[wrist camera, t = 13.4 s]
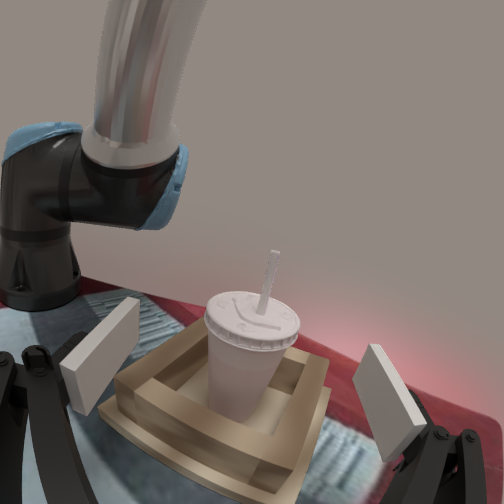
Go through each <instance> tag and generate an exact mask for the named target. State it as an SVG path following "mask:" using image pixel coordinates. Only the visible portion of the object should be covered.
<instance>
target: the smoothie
mask: <svg viewBox="0 0 504 504" xmlns="http://www.w3.org/2000/svg"><path fill="white" fill-rule="evenodd" d="M279 256H280V252H278V251H275V250H271V254H270V258H269V263H268V267H267V271H266V276H265V280H264V284H263V288H262V292H261V294H257V293H250V292H241V291H232V292H225V293H220V294H218V295H216V296H214V297H212V298H211V299H210V300H209V301H208V303H207V308H206V312H205V315H204V321H205V324H206V327H207V328H208V398H209V409H210V410H212V411H214V412H216V413H218V414H220V415H222V416H224V417H226V418H229V419H231V420H233V421H235V422H237V423H242V422H244V421H246V420H247V419H249V418H250V416H251V414H252V413H253V411H254V409H255V407H256V406H257V404H258V402H259V400H260V399H261V397H262V395H263V393H264V391H265V390H266V388H267V386H268V384H269V382H270V380H271V379H272V377H273V375H274V373H275V371H276V369H277V367H278V365H279V363H280V361H281V360H282V358H283V356H284V354H285V352H286V350H287V348H288V347H289V346H291V345H292V344H294V342H295V341H296V339H297V336H298V331H299V328H300V319H299V317H298V316H297V314H296V313H295V312H294V311H293V310H292V309H291V308H290V307H288V306H287V305H285V304H283V303H282V302H280V301H278V300H275V299H273V298H271V297H270V292H271V289H272V285H273V281H274V277H275V272H276V268H277V265H278V260H279Z"/></svg>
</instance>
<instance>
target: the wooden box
mask: <svg viewBox="0 0 504 504" xmlns="http://www.w3.org/2000/svg"><path fill="white" fill-rule="evenodd" d="M329 361H330V360H329V359H326V358H323V357H320V356H317V355H314V354H311V353H308V352H305V351H302V350H299V349H296V348H293V347H290V346H289V347H288V348H287V350H286V352H285V354H284V356H283V358H282V360H281V361H280V363H279V365H278V367H277V369H276V371H275V373H274V375H273V377H272V379H271V380H270V382H269V384H268V386H267V388H266V390H265V391H264V393H263V395H262V397H261V399H260V400H259V402H258V404H257V406H256V407H255V409H254V411H253V413H252V414H251V416H250V418H249V419H247V420H246V421H244V422H242V423H237V422H235V421H233V420H231V419H229V418H226V417H224V416H222V415H220V414H218V413H216V412H214V411H212V410H210V409H209V398H208V328H207V327H206V324H205V321H204V316H203V317H201V318H200V319H198V320H197V321H195V322H194V323H192V324H191V325H190V326H188V327H187V328H185V329H184V330H182V331H181V332H179V333H178V334H176V335H175V336H173V337H172V338H170V339H169V340H167V341H166V342H164V343H163V344H161V345H160V346H158V347H157V348H155V349H154V350H152V351H151V352H149V353H148V354H146V355H145V356H143V357H142V358H140V359H139V360H137V361H136V362H134V363H133V364H131V365H130V366H128V367H127V368H125V369H123V370H122V371H120V372H119V373H117V374H116V375H115V376H114V377H113V380H114V387H115V393H116V394H115V395H113V396H112V397H111V398H109V399H108V400H106V401H105V402H103V403H102V404H100V405H99V406H97V408H98V411H99V415H100V418H101V419H102V420H104V421H105V422H106V423H107V424H108V425H110V426H111V427H112V428H113V429H115V430H116V431H117V432H118V433H120V434H121V435H122V436H124V437H125V438H126V439H128V440H129V441H130V442H132V443H133V444H135V445H136V446H137V447H139V448H140V449H142V450H143V451H145V452H146V453H148V454H149V455H151V456H152V457H154V458H155V459H157V460H158V461H160V462H161V463H163V464H165V465H166V466H168V467H170V468H171V469H173V470H175V471H176V472H178V473H180V474H182V475H183V476H185V477H187V478H189V479H191V480H193V481H195V482H197V483H198V484H200V485H202V486H204V487H206V488H208V489H211V490H213V491H215V492H217V493H219V494H221V495H224V496H226V497H228V498H231V499H233V500H235V501H238V502H240V503H243V504H295V501H296V499H297V496H298V494H299V491H300V489H301V486H302V483H303V481H304V478H305V475H306V473H307V470H308V467H309V464H310V461H311V458H312V455H313V452H314V449H315V446H316V443H317V439H318V436H319V433H320V429H321V426H322V423H323V419H324V415H325V412H326V408H327V404H328V400H329V396H330V392H331V389H330V388H327V387H324V386H323V383H324V380H325V376H326V373H327V369H328V365H329Z"/></svg>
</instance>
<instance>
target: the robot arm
mask: <svg viewBox="0 0 504 504" xmlns="http://www.w3.org/2000/svg"><path fill="white" fill-rule="evenodd" d="M206 1H207V0H109V2H108V7H107V11H106V15H105V20H104V25H103V31H102V36H101V43H100V50H99V57H98V66H97V75H96V86H95V87H96V88H95V103H94V121H92V122H91V123H90V124H89V125H88V126H87V127H86V128H85V130H84V131H83V130H82V126H81V125H80V124H78V123H73V122H46V123H38V124H32V125H28V126H24V127H21V128H19V129H17V130H15V131H14V132H13V133H12V134H11V135H10V136H9V138H8V140H7V143H6V148H5V153H4V158H3V161H2V177H1V190H0V191H1V192H0V301H1V302H2V303H4V304H5V305H7V306H9V307H12V308H15V309H19V310H26V311H39V310H47V309H51V308H55V307H58V306H61V305H63V304H66V303H68V302H69V301H71V300H72V299H74V298H75V297H76V296H77V295H78V294H79V292H80V290H81V272H80V268H79V265H78V262H77V258H76V255H75V252H74V249H73V245H72V242H71V237H70V226H71V222H79V223H87V224H94V225H103V226H110V227H118V228H126V229H133V230H136V231H138V230H142V229H143V230H160V229H162V228H164V227H165V226H166V225H167V224H168V223H169V221H170V220H171V217H172V215H173V213H174V210H175V208H176V205H177V202H178V199H179V196H180V188H181V187H182V184H183V181H184V178H185V173H186V169H187V163H188V148H187V147H186V146H184V145H182V144H180V133H179V130H178V128H177V127H176V126H175V125H174V123H173V122H172V121H171V118H172V114H173V109H174V105H175V101H176V97H177V93H178V89H179V85H180V81H181V77H182V74H183V70H184V67H185V63H186V60H187V56H188V53H189V50H190V47H191V44H192V40H193V38H194V35H195V32H196V29H197V26H198V23H199V20H200V17H201V15H202V12H203V9H204V7H205V4H206ZM139 315H140V300H139V299H135V298H132V297H127V298H126V299H124V300H123V301H122V302H121V303H120V304H119V305H118V306H117V307H116V308H115V309H114V310H113V311H112V312H111V313H110V314H109V315H108V316H107V317H106V318H104V319H103V320H102V321H101V322H100V323H99V324H98V325H97V326H96V327H95V328H94V329H93V330H92V331H91V332H90V333H89V334H88V333H85V332H83V331H81V332H79V333H77V334H75V335H73V336H72V337H71V338H70V339H69V340H68V341H67V342H65V343H64V344H63V346H61V347H60V348H59V349H58V350H57V351H56V352H55V353H54V354H53V355H52V356H50V352H49V350H48V349H47V348H46V347H43V346H41V345H33V346H29V347H27V348H26V349H25V350H24V351H23V352H22V355H21V356H22V359H23V363H24V365H21V364H18V363H15V361H14V358H13V356H12V355H11V354H10V353H8V352H6V351H1V352H0V504H22V463H23V450H24V440H25V432H26V425H27V418H28V412H29V421H30V429H31V436H32V442H33V448H34V453H35V458H36V463H37V467H38V472H39V476H40V479H41V483H42V487H43V490H44V494H45V497H46V500H47V503H48V504H98V502H97V499H96V497H95V495H94V493H93V490H92V488H91V485H90V483H89V480H88V478H87V475H86V473H85V470H84V467H83V464H82V461H81V458H80V455H79V452H78V449H77V446H76V442H75V439H74V435H73V432H72V428H71V424H70V420H69V416H68V412H67V409H66V406H67V405H68V403H69V402H70V403H71V406H72V409H73V410H75V411H77V412H79V413H81V414H83V415H85V416H88V414H89V413H90V411H91V410H92V408H93V407H94V405H95V404H96V402H97V401H98V399H99V398H100V396H101V395H102V393H103V392H104V390H105V389H106V387H107V386H108V384H109V383H110V381H111V380H112V378H113V377H114V376H115V374H116V373H117V371H118V370H119V368H120V367H121V365H122V364H123V363H124V361H125V360H126V358H127V357H128V355H129V354H130V353H131V351H132V350H133V348H134V347H135V346H136V344H137V343H138V341H139ZM352 380H353V383H354V385H355V388H356V390H357V393H358V396H359V398H360V401H361V403H362V406H363V409H364V411H365V414H366V417H367V419H368V422H369V425H370V427H371V430H372V433H373V436H374V438H375V441H376V444H377V447H378V450H379V453H380V455H381V458H382V461H383V462H388V461H394V460H396V459H397V458H398V457H399V456H400V455H401V454H402V453H403V455H404V459H403V460H402V461H401V462H400V463H399V464H398V465H397V466H396V467H395V468H394V469H393V471H395V470H396V469H397V471H396V473H395V475H394V477H393V479H392V481H391V483H390V485H389V487H388V489H387V491H386V493H385V494H384V496H383V498H382V500H381V501H380V503H379V504H487V497H486V481H485V471H484V462H483V455H482V449H481V443H480V438H479V435H478V434H477V433H476V432H475V431H474V430H471V429H465V430H463V432H462V433H461V434H460V435H459V436H455V435H450V434H449V432H448V431H447V430H446V429H445V428H443V427H442V426H435V425H434V423H433V421H432V420H431V418H430V416H429V415H428V413H427V411H426V409H425V408H424V406H423V404H422V403H421V401H420V399H419V398H418V396H417V395H416V394H415V393H414V392H413V391H412V390H411V389H409V390H408V389H407V388H406V386H405V384H404V383H403V381H402V380H401V378H400V376H399V374H398V373H397V371H396V369H395V368H394V366H393V364H392V363H391V361H390V360H389V358H388V357H387V355H386V354H385V352H384V350H383V349H382V347H381V345H379V344H369V345H368V347H367V350H366V352H365V354H364V356H363V358H362V360H361V362H360V364H359V366H358V368H357V371H356V373H355V374H354V376H353V378H352ZM457 466H458V468H457V472H455V468H456V467H457Z"/></svg>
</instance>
